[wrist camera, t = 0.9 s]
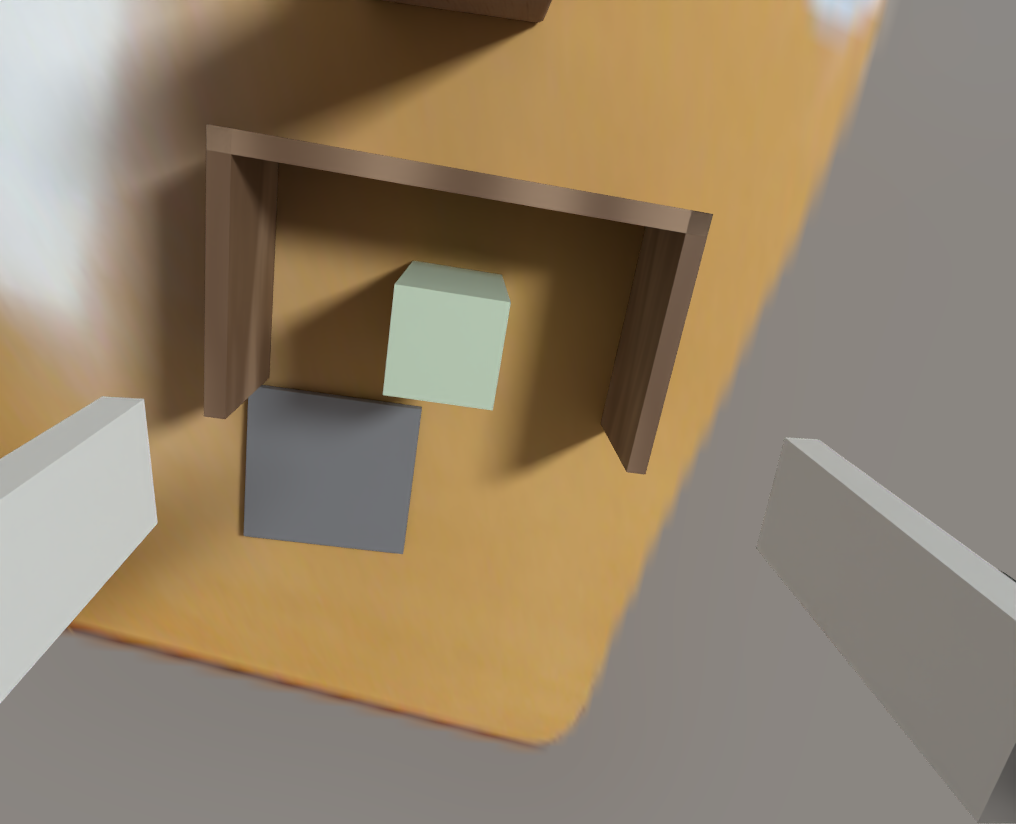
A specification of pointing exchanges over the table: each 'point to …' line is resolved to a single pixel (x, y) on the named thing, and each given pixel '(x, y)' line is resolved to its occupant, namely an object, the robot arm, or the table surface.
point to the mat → (329, 469)
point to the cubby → (254, 184)
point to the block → (446, 335)
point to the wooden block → (490, 7)
